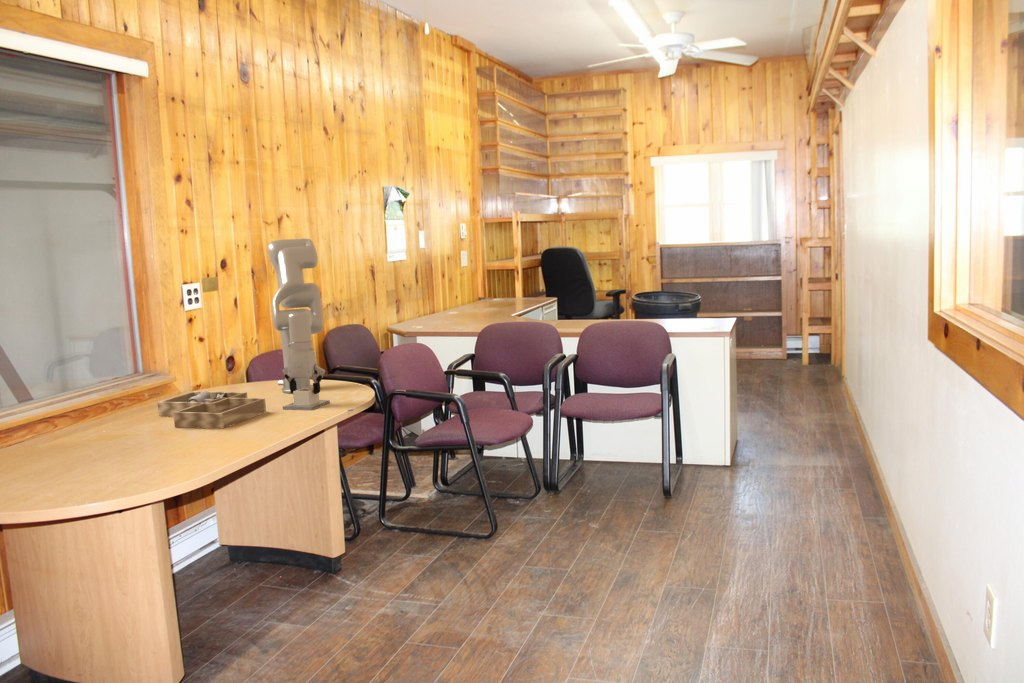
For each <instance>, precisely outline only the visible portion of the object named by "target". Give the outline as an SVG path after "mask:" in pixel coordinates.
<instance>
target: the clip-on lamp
mask: <svg viewBox="0 0 1024 683" xmlns="http://www.w3.org/2000/svg"><path fill="white" fill-rule="evenodd" d="M200 392H201V393H200V394H198V395H197V396H193V397H191V398H190V399H189V401H188V402H201V403H204V402H205V401H206V402H208V401H211V400H213V399H209V397H210V394H209V392H210V391H207V390H203V391H200ZM226 395H227V393H225V394H223V395H219V394H218V393H217V394H216V397H215V398H214V399H217V398H226Z"/></svg>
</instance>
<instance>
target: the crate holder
mask: <svg viewBox="0 0 1024 683" xmlns="http://www.w3.org/2000/svg"><path fill="white" fill-rule="evenodd" d="M201 392H202V391H191V392H187V393H184V394H181V395H177V396H174V397H171V398H166V399H163V400H160V401H157V411H158V416H159V417H174V415H173V412H176V411H180V410H183V409H186V408H189V407H192V406H195V405H198V404H201V402H188V401H189V399H190V398H191V397H193V396H197V395H198V394H200V393H201ZM208 392H209V394H210V397H209V399H213V400H214V398H215V397H216V394H217V393H218V394H219V395H223V394H225V393H227V395H226V399H223V400H220V401H216V402H213V403H205V402H206V401H205V402H204V403H205V410H206V413H222V412H225V411H227V410H230V406H229V398H248V392H247V391H245V392H244V391H243V392H240V391H239V392H238V391H208Z"/></svg>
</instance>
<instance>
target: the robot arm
mask: <svg viewBox="0 0 1024 683" xmlns="http://www.w3.org/2000/svg"><path fill="white" fill-rule="evenodd" d="M267 254H268V258H269V261H270V263H271V265H272V267H273V269H274V271H275V275H276V280H277V281H276V282H277V290H276V292H275V293H274V295H273V297H272V301H271V308H270V309H271V314H272V316H271V317H272V323H273V324H272V325H273V326H274V328H275V330H277V331H279V335H280V339H281V340H280V341H281V347H282V348H281V350H282V358H283V359H282V360H283V369H282V370H281V371H282V373H283V376H284V379H280V380H278V382H277V385H278V386H283V388H282V389H281V391H282V392H283V393H284V394H293V391H296V390H298V389H301V388H310V387H313V391H314V394H317V393H319V394H320V392H321V383H320V382H321V381H322V380H323V379H324V376H325V374H326V369H324V368H322V367H321V366H318V360H317V356H316V352H315V350H314V348H313V341H312V340H313V339H312V335H315V334H320V333H321V332H323V330H324V316H323V306H322V297H321V292H320V287H319V286H318V285H317V284H316V283H314V282H305V278H304V271H303V270H305V269H314V268H316V267H317V266H318V261H319V260H318V252H317V249H316V246H315V244H314V242H313V240H312V239H310V238H293V239H292V238H289V239H277V240H273V241H270V242H269V243H268V244H267ZM280 306H281V307H282V308H284V309H282V310H280ZM308 308H309V309H308ZM311 380H312V381H313V383H312V384H311Z"/></svg>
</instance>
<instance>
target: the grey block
mask: <svg viewBox="0 0 1024 683" xmlns="http://www.w3.org/2000/svg"><path fill="white" fill-rule="evenodd" d="M305 390H309V391H305ZM319 394H320V392H319V393H317V394H314V391H313V387H310V388H301V389H298V390H296V391H293V393H292V395H293V403H294V405H312V404H315V403H317V402H319V400H320V395H319Z"/></svg>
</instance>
